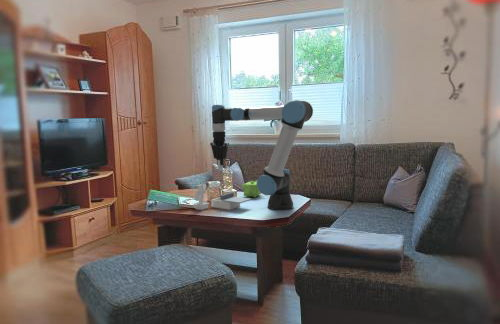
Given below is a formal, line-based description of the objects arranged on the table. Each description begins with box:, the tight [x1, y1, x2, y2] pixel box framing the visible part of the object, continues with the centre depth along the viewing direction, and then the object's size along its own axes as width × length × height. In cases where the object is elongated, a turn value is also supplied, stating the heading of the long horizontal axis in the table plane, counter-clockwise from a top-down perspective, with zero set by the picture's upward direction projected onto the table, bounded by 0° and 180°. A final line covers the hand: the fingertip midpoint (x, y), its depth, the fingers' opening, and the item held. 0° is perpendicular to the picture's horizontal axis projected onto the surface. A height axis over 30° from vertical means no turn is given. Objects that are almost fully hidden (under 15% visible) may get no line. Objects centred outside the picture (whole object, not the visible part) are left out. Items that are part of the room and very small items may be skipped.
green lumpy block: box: [241, 180, 262, 198], centre depth 249 cm, size 15×13×11 cm
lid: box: [219, 192, 252, 204], centre depth 214 cm, size 14×11×3 cm
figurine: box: [192, 184, 210, 211], centre depth 215 cm, size 7×9×15 cm
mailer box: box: [210, 196, 241, 210], centre depth 219 cm, size 14×10×5 cm
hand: (220, 170), depth 219 cm, fingers closed
